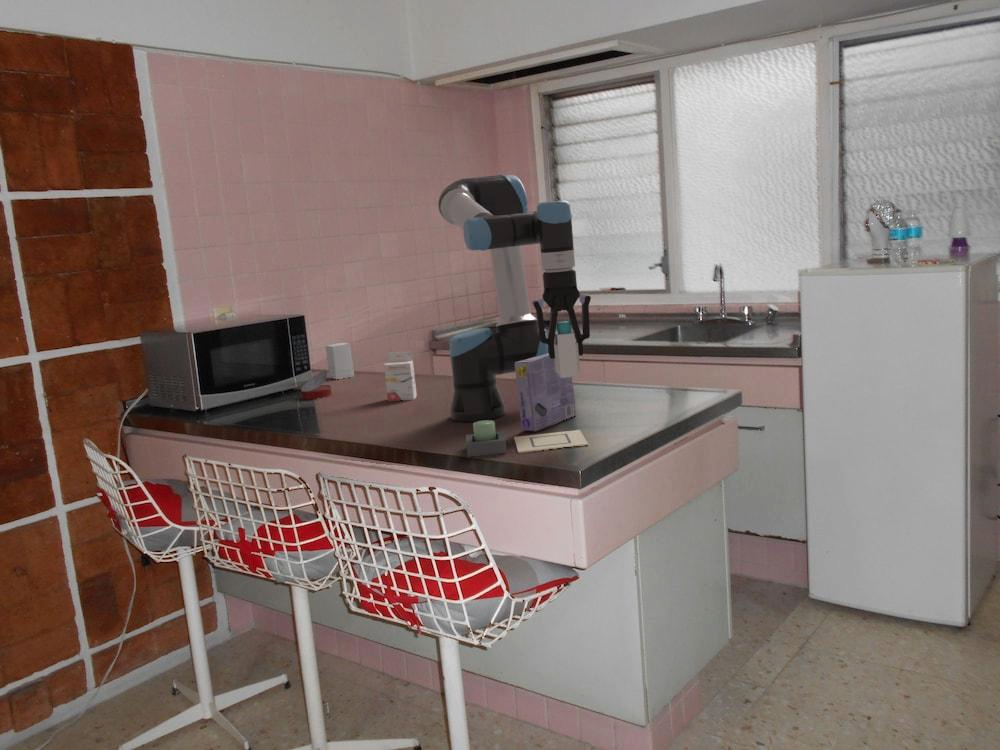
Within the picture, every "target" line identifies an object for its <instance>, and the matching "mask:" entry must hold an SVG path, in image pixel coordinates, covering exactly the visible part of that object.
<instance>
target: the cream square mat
mask: <svg viewBox="0 0 1000 750" xmlns="http://www.w3.org/2000/svg"><path fill="white" fill-rule="evenodd" d="M513 438H514V443H515V446H516V450H517V453H518V454H525V453H532V452H534V451H535V452H542V450H544V451H550V450H549V449H553V450H558V449H557V448H562V449H564V448H563V447H572V448H574V447H573V446H581V447H586V446H585V445H588V446H589V443H588V441H587V440H586V438H585V436H584V434H583V433H582V431H581V429H576V430H567V431H557V432H549V433H536V434H531V435H521V436H514V437H513Z"/></svg>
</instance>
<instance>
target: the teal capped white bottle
mask: <svg viewBox="0 0 1000 750" xmlns="http://www.w3.org/2000/svg"><path fill="white" fill-rule="evenodd" d="M556 330H557V331H556V332H555V340H554V344H555V343H556V344H557V345H558V356H559V368H560V373H558V375H559V377H560V378H567V377H572V378H574V377H579V371H578V370H577V358H576V346H575V341H576V339H575V334H574V332H573V330H572V325H571V322H570V320H568V321H567V320H566V321H558V322H557V323H556Z"/></svg>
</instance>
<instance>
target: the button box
mask: <svg viewBox="0 0 1000 750" xmlns="http://www.w3.org/2000/svg"><path fill="white" fill-rule="evenodd" d="M495 432H496V440H487V441H478V442H475V439H474V433H473V434H465V446H466V455H467V458H471V456H474V457H481V456H480V455H483V456H489V455H491V454H492V455H499V454H507V453H508V450H507V440H506V436H505V432H504V430H501V431H500V430H499V431H495Z"/></svg>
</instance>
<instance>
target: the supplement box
mask: <svg viewBox="0 0 1000 750" xmlns="http://www.w3.org/2000/svg"><path fill="white" fill-rule="evenodd" d="M325 353H326V359H327V360H326V361H327V366H328V372H329V374H328V375H329V379H332V378H333V380H335V379H336V381H338V380H337V379H339V380H343V378H345V379H349V378H348V377H350V378H354V377H355V370H354V364H353V357H352V349H351V343H347V342H339V343H332V344H326V345H325Z"/></svg>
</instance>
